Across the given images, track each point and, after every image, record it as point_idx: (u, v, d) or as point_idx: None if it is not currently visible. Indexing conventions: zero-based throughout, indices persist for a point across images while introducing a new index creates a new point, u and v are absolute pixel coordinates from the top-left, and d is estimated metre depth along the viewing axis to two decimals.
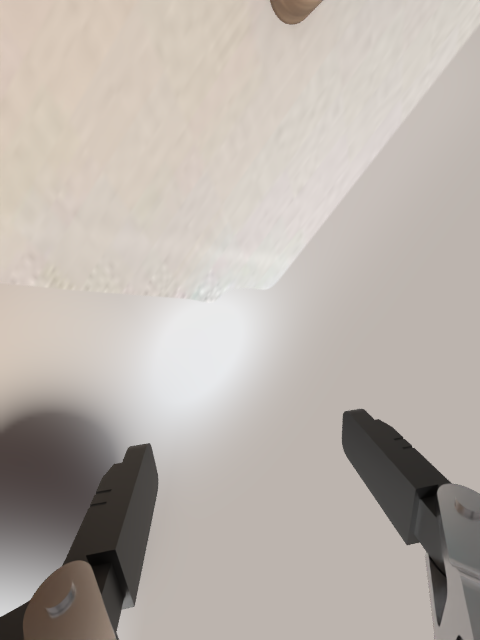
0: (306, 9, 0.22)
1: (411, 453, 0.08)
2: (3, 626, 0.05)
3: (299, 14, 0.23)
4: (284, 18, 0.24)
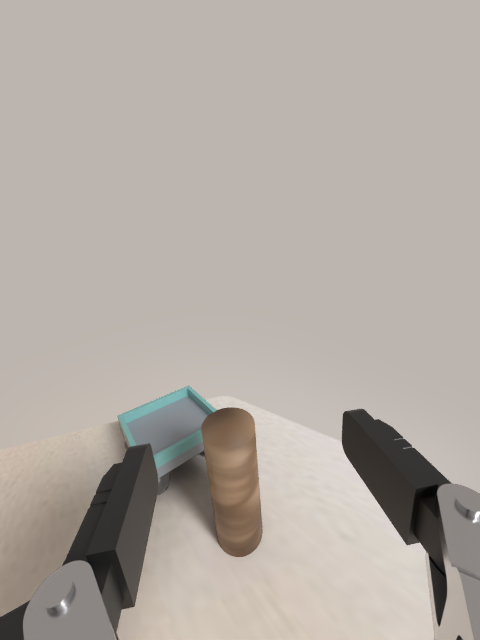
0: None
1: (411, 453, 0.08)
2: (3, 625, 0.05)
3: None
4: (260, 534, 0.26)
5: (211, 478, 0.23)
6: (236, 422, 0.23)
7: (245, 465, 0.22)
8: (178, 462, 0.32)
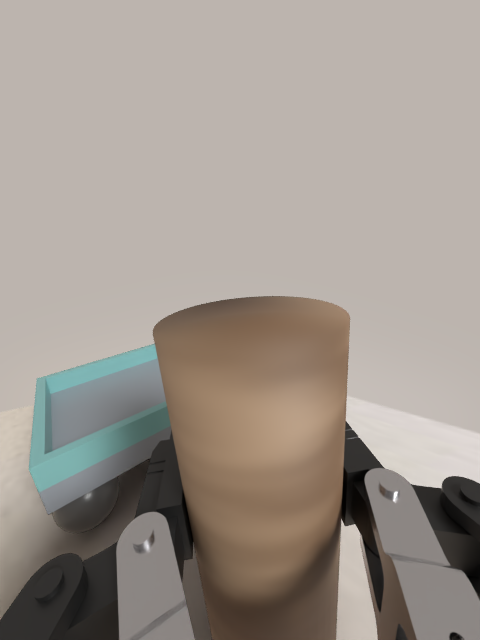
0: None
1: (355, 442, 0.09)
2: (95, 563, 0.06)
3: None
4: None
5: (192, 505, 0.06)
6: (277, 310, 0.07)
7: (325, 455, 0.05)
8: (133, 459, 0.15)
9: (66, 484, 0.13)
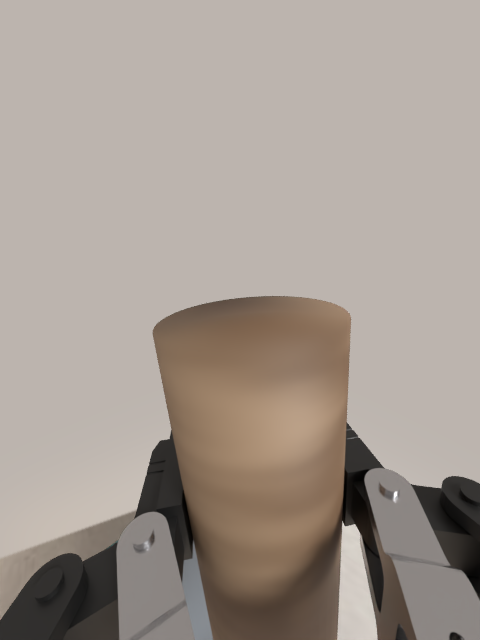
0: None
1: (355, 442, 0.09)
2: (95, 563, 0.06)
3: None
4: None
5: (193, 506, 0.06)
6: (278, 310, 0.07)
7: (326, 456, 0.05)
8: None
9: None
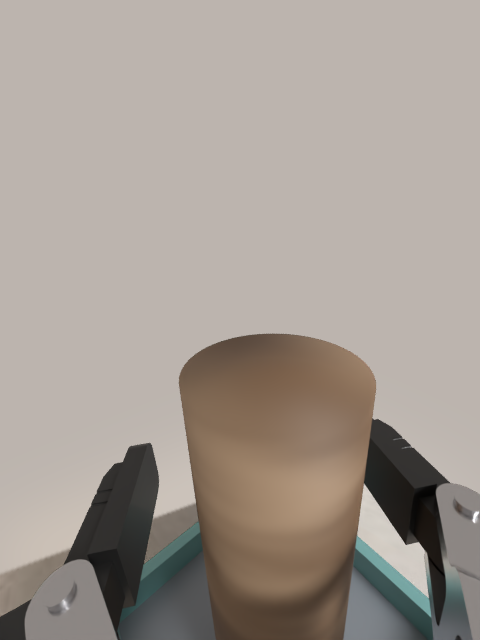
0: None
1: (410, 453, 0.08)
2: (5, 624, 0.05)
3: None
4: None
5: (211, 551, 0.07)
6: (299, 360, 0.07)
7: (347, 516, 0.06)
8: None
9: None
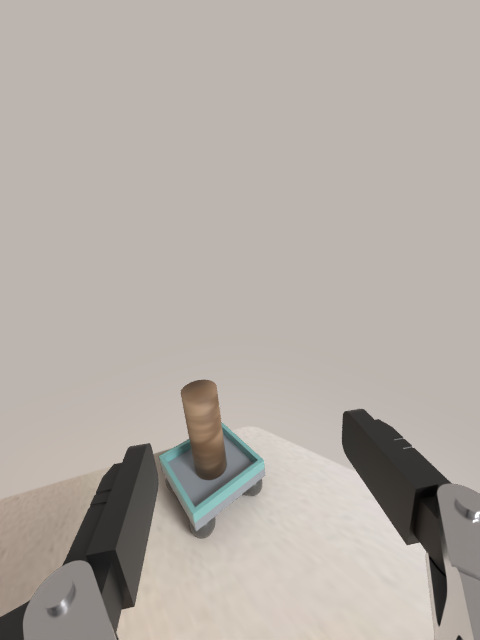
0: (224, 446, 0.38)
1: (411, 453, 0.08)
2: (3, 625, 0.05)
3: (224, 453, 0.38)
4: (224, 467, 0.38)
5: (188, 424, 0.35)
6: (204, 387, 0.35)
7: (209, 414, 0.34)
8: (223, 505, 0.34)
9: (202, 519, 0.32)
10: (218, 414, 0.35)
